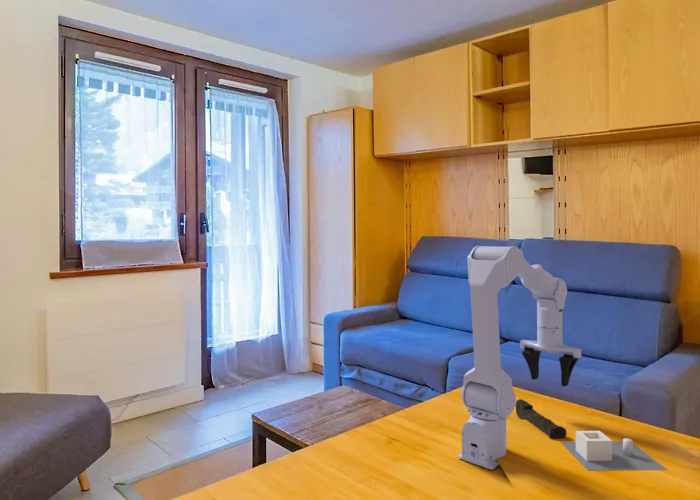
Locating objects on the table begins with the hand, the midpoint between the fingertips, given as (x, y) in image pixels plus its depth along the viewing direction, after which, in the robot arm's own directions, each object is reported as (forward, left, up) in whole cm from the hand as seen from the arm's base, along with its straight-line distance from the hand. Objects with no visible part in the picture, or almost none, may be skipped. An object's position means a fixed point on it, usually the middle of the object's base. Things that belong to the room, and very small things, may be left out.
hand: (549, 382), depth 124 cm
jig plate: (-12, -18, -10) cm, 24 cm away
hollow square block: (-14, -15, -9) cm, 23 cm away
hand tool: (-6, +1, -10) cm, 12 cm away
